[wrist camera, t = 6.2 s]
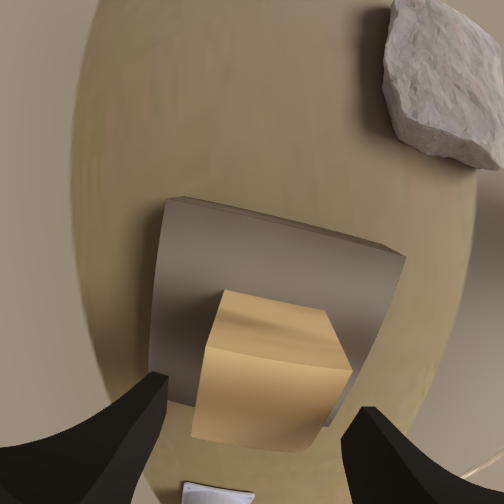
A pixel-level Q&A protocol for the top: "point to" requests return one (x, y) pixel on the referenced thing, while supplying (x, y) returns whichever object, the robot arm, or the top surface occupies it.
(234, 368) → the maple cube
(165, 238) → the base block
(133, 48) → the top surface
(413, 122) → the stone block
